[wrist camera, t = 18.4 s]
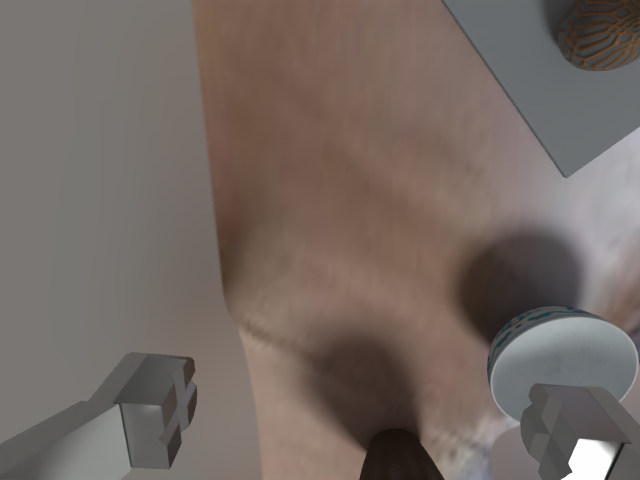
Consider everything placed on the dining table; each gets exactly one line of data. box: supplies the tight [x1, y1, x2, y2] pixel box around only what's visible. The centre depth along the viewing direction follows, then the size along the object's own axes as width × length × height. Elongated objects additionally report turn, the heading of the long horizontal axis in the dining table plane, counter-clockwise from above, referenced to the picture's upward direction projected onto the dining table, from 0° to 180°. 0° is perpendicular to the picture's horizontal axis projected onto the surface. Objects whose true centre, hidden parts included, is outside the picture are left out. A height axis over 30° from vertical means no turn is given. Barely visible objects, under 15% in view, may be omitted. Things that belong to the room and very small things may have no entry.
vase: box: [558, 0, 640, 71], centre depth 31 cm, size 7×7×9 cm
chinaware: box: [487, 306, 639, 423], centre depth 44 cm, size 15×15×8 cm
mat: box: [441, 0, 640, 178], centre depth 35 cm, size 22×16×1 cm
